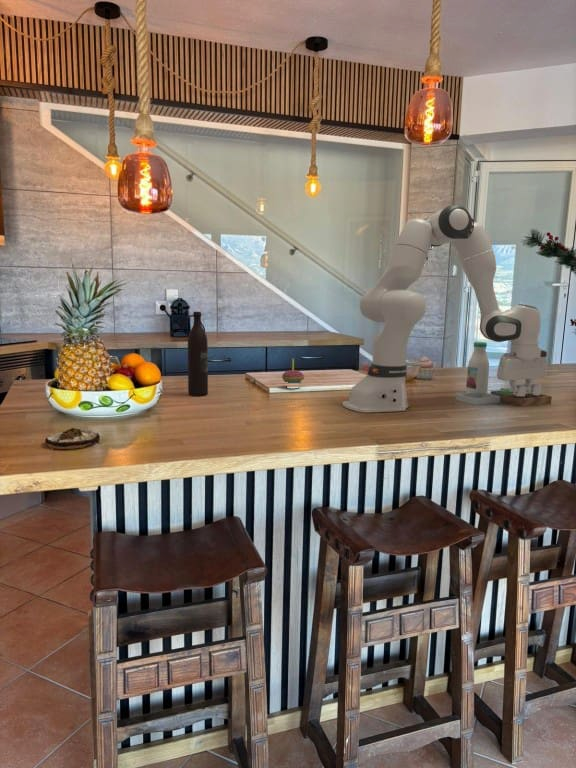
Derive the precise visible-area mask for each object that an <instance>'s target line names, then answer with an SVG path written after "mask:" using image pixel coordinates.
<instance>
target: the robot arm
mask: <svg viewBox="0 0 576 768" xmlns="http://www.w3.org/2000/svg"><path fill="white" fill-rule="evenodd" d="M398 235H399V236H398V238H397V240H396V243H395V245H394V248H393V251H392V254H391V256H390V259H389V261H388V264H387V267H386V268H385V269H384V270H385V271H384V272H383V274H382V275H381V276H380V278H379V279H378V281H377V282H376V283H375V285H373V286H372V288H371V289H369V290H368V291H366V292H365V293H364V294H363V295H362V296H361V299H360V302H359V307H360V308H359V309H360V312H361V314H362V316H363V317H365V318H366V319H369V320H371V321H373V322H378V323H383V324H384V325H383V329H382V331H381V333H380V334H379V335H378V336H377V337H375V339H374V341H373V342H372V344H373V345H372V363H371V364H370V366H369V365H366V364H363V365H362V368H361V370H362V371H363V372H367V375H366V376H365V377H363V378H362V379H361V380H360V381H358V382H357V383H356V384H355V385H353V386H352V387H351V390H350V392H349V397H348V400H345V401H343V402H342V407H344V408H346V409H348V410H351V411H354V412H358V413H382V412H383V413H385V412H388V413H389V412H404V411H406V410H407V408H409V403H408V397H407V391H406V388H407V387H406V378H407V374H408V373H407V372H408V367H407V366H408V364H407V351H408V350H407V349H408V342H409V338H410V335H411V334H412V333H411V332H412V331H413V329H414V327H415V326H416V325H417V324H418V323H419V322H420V321H422V319H423V318H424V316H425V313H426V311H427V303H426V299H425V298H424V296H423V295H422V294H420V293H419V292H415V291H413V290H409V289H408V288H409V287H411V285H413V284H414V283H416V282H417V281H418V280H419V279H420V278H421V277H420V276H421V274H422V271H423V269H424V265H425V264H426V260H427V257H428V253H429V251H430V248H431V247H440V246H442V245H447V244H452V245H453V246H454V248H455V249H456V251H457V254H458V259H459V261H460V265H461V267H462V269H463V272H464V274H465V276H466V278H467V280H468V282H469V283H470V285H471V287H472V289H473V291H474V294H475V297H476V300H477V304H478V308H479V310H480V321H479V322H480V323H479V330H480V333H481V334H482V336H483V337H484V338H485V339H487V340H488V341H492V342H496V343H502V342H509V341H510V346H509V352H505V353H503V355H502V356H500V360H499V362H498V367H497V371H496V378H497V380H500V381H504V382H507V381H508V382H509V385H510V387H511V388H510V389H511V390H510V391H511V392H514V393H516V392H518V387H517V386H516V384H518V380H524V382H525V383H524V385H527V387H526V393H528V391H529V387H530V385H531V384H532V383H534V382H533V380H534V379H542V378H545V377H546V375H547V371H548V359H547V358H548V357H549V351H548V350H546V349H543V348H540V347H539V344H540V343H539V334H540V332H541V312H540V311H541V310H539V308H537V307H535V306H533V305H528V304H523V303H519V304H516V305H515V306H513V307H510V308H509V309H507V310H505V311H501V309H500V307H499V303H498V300H497V296H496V292H495V287H494V279H495V275H496V272H497V261H496V255H495V252H494V249H493V245H492V243H491V240H490V238H489V235H488V233H487V232H486V230H485V228H484V226H483V225H482V223H479V222H475V220H474V219H473V217H472V216H471V214H470V212H469V211H468V209H466V208H465V207H464V206H462V205H459V204H457V205H456V204H454V205H449V206H446V207H444V208H442V209H440V210H437V211H436V212H434V213H433V214H431V215H430V216H428V217H427V218H425V219H422V218H416V217H415V218H412V219H409V220H408V221H406V223H405V224H404V226H403V227H402V229H401V231H400V234H398Z"/></svg>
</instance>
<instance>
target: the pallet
mask: <svg viewBox="0 0 576 768" xmlns="http://www.w3.org/2000/svg"><path fill="white" fill-rule="evenodd" d="M552 397H553V396H551V395H547V394H543V393H541V395H540V397H532V396H528V392H526V397H525V398H521V399H520V398H516V397H513V394H510V395H503V396H502V401H501V403H503V404H507V405H512V406H515V407H519V408H521V407H530V406H531V407H532V406H541V405H542V406H543V405H552Z"/></svg>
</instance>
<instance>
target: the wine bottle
mask: <svg viewBox="0 0 576 768" xmlns="http://www.w3.org/2000/svg"><path fill="white" fill-rule="evenodd" d="M192 316H193V324H192V327H191V330H190V331H189V333H188V336H187V380H188V381H187V392H188V396H191V397H205V396H207V395H208V394H209V384H208V383H209V378H208V377H209V373H208V372H209V369H208V367H209V366H208V364H209V363H208V361H209V360H208V359H209V358H208V357H209V356H208V350H209V349H208V338H207V334H206V331H205V330H204V328H203V325H202V312H201V311H193V313H192Z"/></svg>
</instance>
